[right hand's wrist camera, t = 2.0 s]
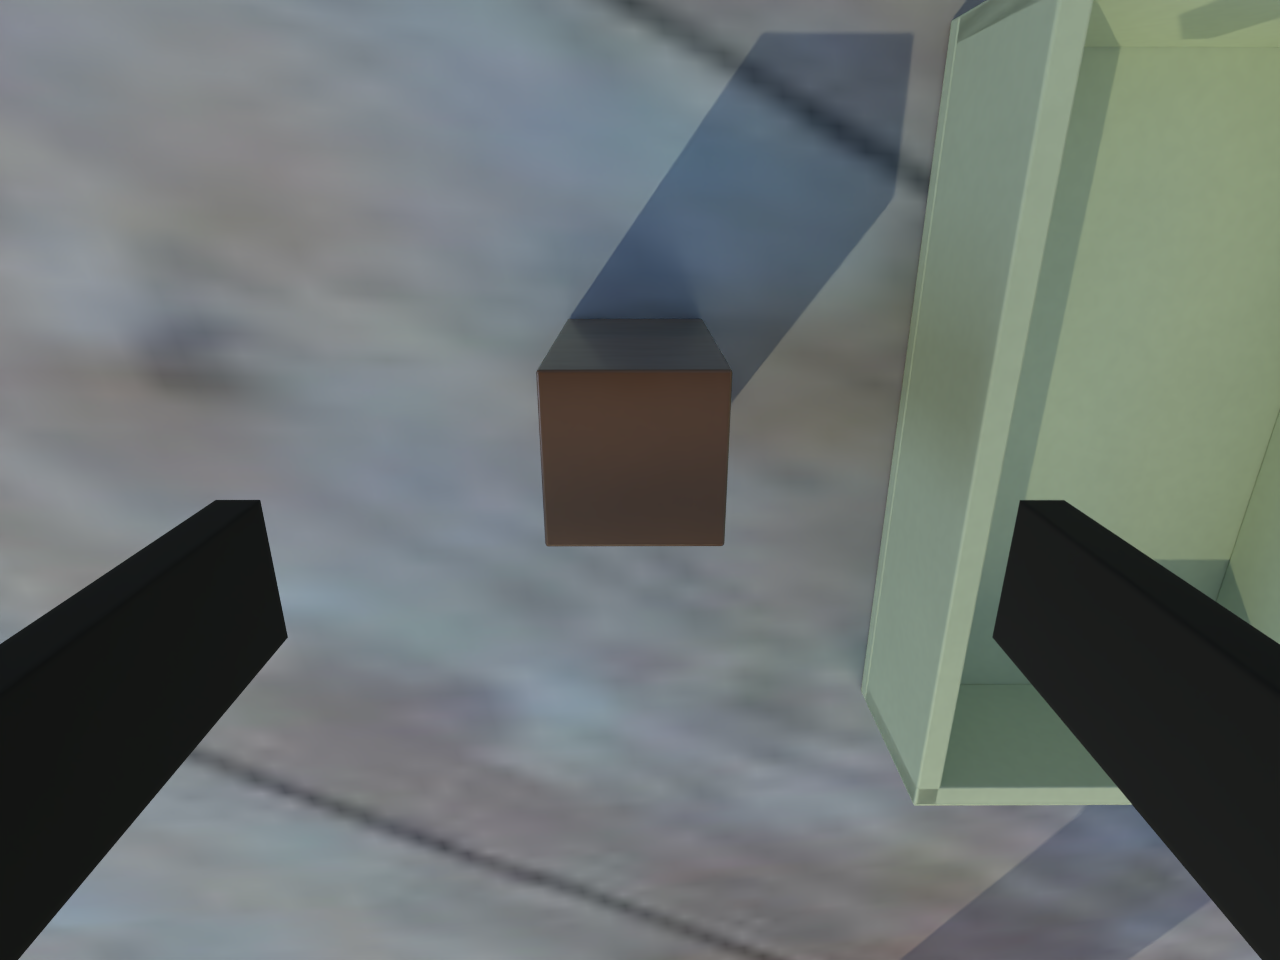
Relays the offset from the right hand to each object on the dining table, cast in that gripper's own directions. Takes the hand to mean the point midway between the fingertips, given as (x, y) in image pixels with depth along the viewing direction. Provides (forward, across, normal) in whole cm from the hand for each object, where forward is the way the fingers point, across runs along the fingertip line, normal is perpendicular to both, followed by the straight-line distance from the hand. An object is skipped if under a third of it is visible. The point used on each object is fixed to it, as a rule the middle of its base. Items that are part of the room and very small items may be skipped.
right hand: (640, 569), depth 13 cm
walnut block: (+13, 0, 0) cm, 13 cm away
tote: (+13, +16, -1) cm, 20 cm away
